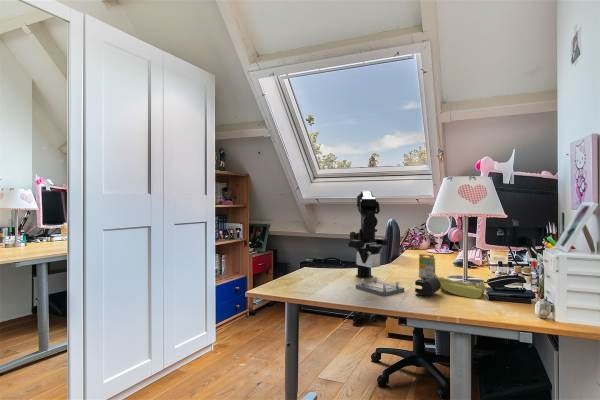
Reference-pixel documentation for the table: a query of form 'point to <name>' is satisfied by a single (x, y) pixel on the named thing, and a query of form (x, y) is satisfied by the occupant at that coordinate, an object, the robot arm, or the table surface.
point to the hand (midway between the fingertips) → (368, 262)
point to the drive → (369, 260)
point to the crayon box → (426, 266)
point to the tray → (380, 287)
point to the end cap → (427, 286)
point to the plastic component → (461, 288)
